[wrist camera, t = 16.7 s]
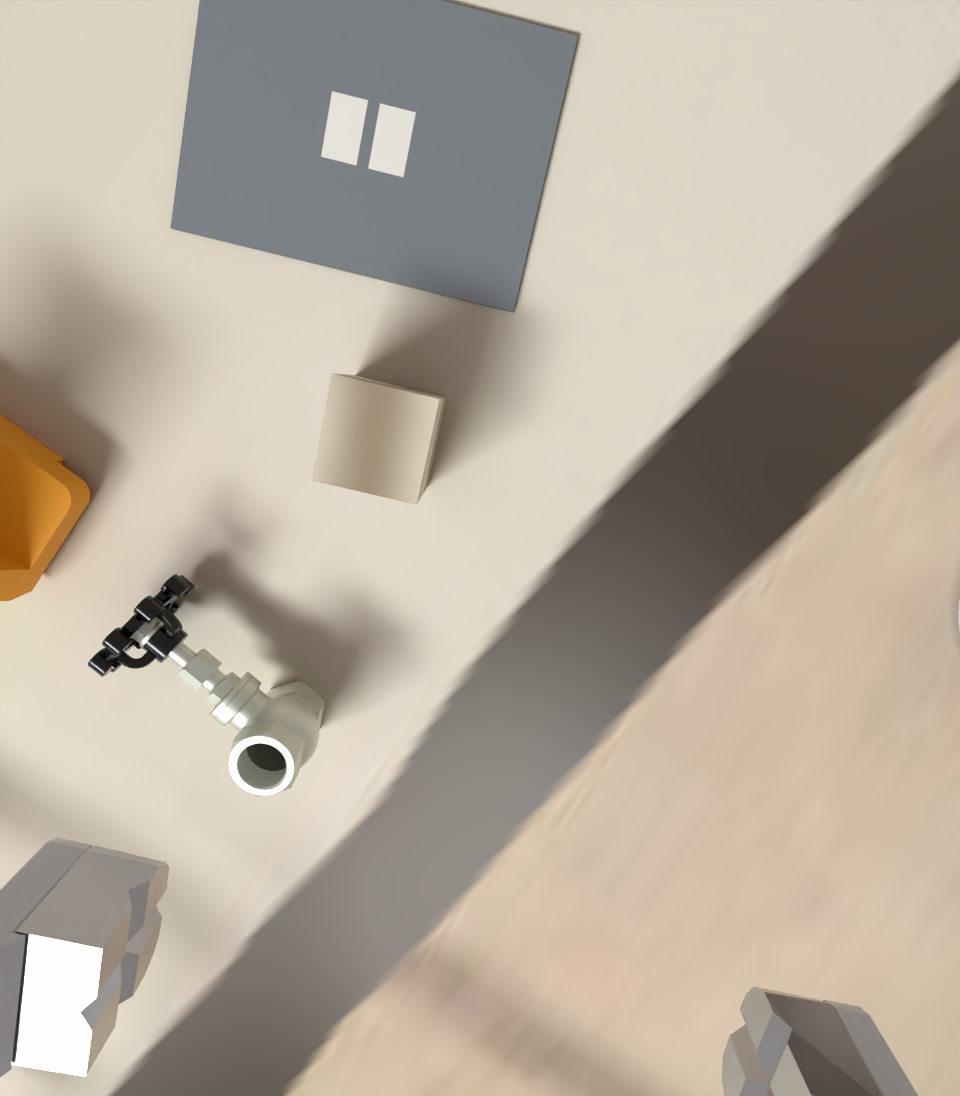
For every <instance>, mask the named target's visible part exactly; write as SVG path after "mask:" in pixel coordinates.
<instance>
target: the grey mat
mask: <svg viewBox="0 0 960 1096" xmlns="http://www.w3.org/2000/svg"><path fill="white" fill-rule="evenodd" d="M577 38H578V36H577V35H573V34H569V33H566V32H562V31H558V30H554V29H550V28H547V27H543V26H539V25H535V24H531V23H527V22H524V21H520V20H516V19H512V18H508V17H504V16H501V15H497V14H493V13H489V12H485V11H481V10H478V9H474V8H470V7H466V6H462V5H459V4H455V3H451V2H447V1H443V0H200V3H199V11H198V19H197V27H196V35H195V42H194V50H193V58H192V66H191V74H190V81H189V89H188V97H187V105H186V113H185V121H184V128H183V136H182V144H181V152H180V160H179V167H178V175H177V183H176V191H175V199H174V206H173V214H172V222H171V228H172V229H175V230H179V231H183V232H187V233H192V234H196V235H200V236H204V237H208V238H212V239H216V240H220V241H224V242H228V243H232V244H236V245H240V246H245V247H249V248H253V249H257V250H261V251H265V252H269V253H273V254H277V255H281V256H285V257H289V258H293V259H298V260H302V261H306V262H310V263H314V264H318V265H322V266H326V267H330V268H334V269H338V270H342V271H346V272H351V273H355V274H359V275H363V276H367V277H371V278H375V279H379V280H383V281H387V282H391V283H395V284H399V285H404V286H408V287H412V288H416V289H420V290H424V291H428V292H432V293H436V294H440V295H444V296H448V297H452V298H457V299H461V300H465V301H469V302H473V303H477V304H481V305H485V306H489V307H493V308H497V309H501V310H505V311H510V312H514V308H515V303H516V299H517V295H518V290H519V286H520V282H521V278H522V273H523V269H524V265H525V261H526V256H527V252H528V248H529V243H530V239H531V235H532V231H533V226H534V222H535V218H536V214H537V209H538V205H539V201H540V196H541V192H542V188H543V184H544V179H545V175H546V171H547V167H548V162H549V158H550V154H551V149H552V145H553V141H554V137H555V132H556V128H557V124H558V120H559V115H560V111H561V107H562V102H563V98H564V94H565V90H566V85H567V81H568V77H569V72H570V68H571V64H572V60H573V55H574V51H575V47H576V43H577Z"/></svg>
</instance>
